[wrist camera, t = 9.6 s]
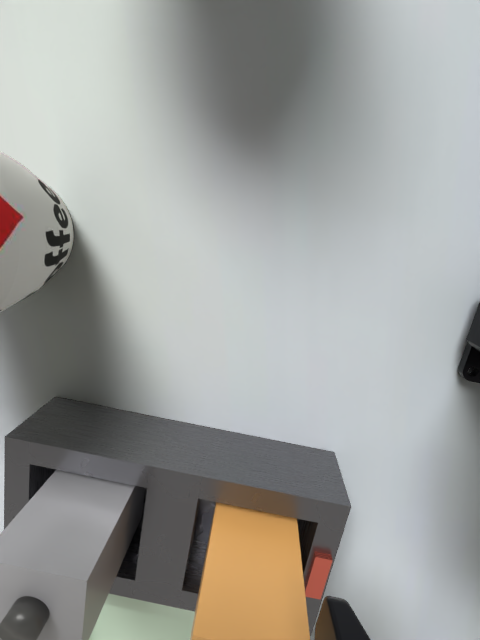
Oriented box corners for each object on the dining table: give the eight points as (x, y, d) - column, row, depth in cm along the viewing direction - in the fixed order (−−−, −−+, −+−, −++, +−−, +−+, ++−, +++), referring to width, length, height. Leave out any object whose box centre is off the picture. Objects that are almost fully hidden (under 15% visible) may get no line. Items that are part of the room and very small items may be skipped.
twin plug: (149, 458, 19) (75, 603, 12) (141, 517, 20) (69, 685, 13) (78, 444, 20) (-40, 579, 12) (74, 503, 21) (-37, 662, 13)
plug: (293, 488, 19) (314, 684, 11) (278, 546, 20) (286, 765, 12) (221, 473, 19) (188, 656, 11) (209, 531, 20) (171, 739, 12)
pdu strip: (334, 452, 20) (352, 511, 16) (302, 563, 22) (311, 642, 18) (55, 396, 20) (0, 440, 16) (49, 511, 22) (-1, 576, 18)
